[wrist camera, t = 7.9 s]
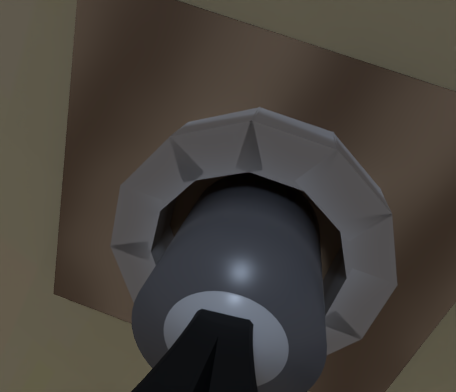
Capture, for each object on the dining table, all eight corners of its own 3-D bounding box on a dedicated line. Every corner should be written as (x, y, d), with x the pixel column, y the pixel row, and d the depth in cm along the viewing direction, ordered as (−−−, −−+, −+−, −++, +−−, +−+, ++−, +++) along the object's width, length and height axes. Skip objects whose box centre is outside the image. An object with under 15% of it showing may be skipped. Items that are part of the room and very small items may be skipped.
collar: (564, 127, 11) (643, 156, 9) (365, 394, 18) (375, 458, 15) (96, -27, 12) (37, -43, 10) (65, 281, 18) (25, 323, 16)
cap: (333, 186, 13) (351, 287, 8) (304, 296, 15) (303, 430, 10) (196, 161, 13) (130, 239, 8) (187, 271, 15) (130, 384, 10)
